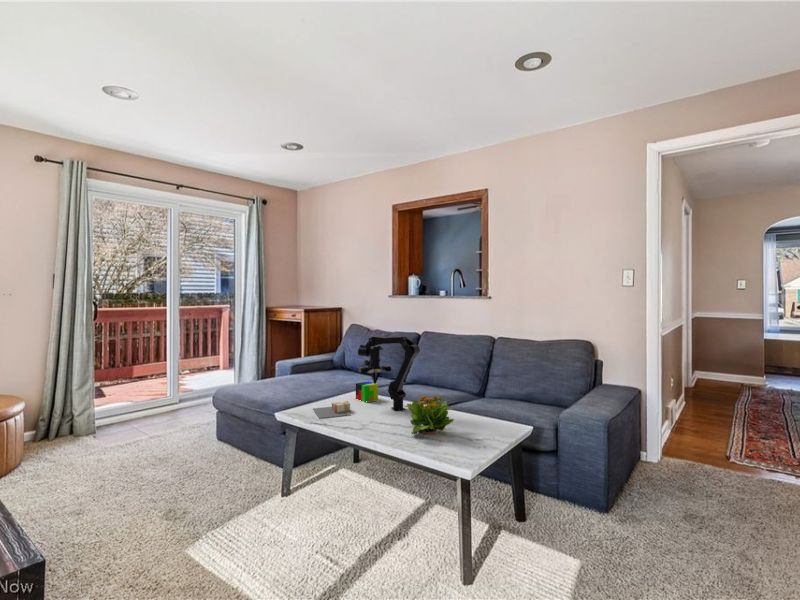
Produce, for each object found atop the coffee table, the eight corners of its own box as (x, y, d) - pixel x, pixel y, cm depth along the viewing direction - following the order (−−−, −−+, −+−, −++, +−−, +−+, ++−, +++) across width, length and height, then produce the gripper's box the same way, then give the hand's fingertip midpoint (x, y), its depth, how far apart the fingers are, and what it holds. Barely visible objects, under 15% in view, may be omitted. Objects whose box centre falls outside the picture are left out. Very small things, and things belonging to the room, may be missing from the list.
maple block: (350, 403, 234) (334, 405, 231) (350, 410, 234) (334, 412, 231) (347, 400, 240) (331, 402, 236) (347, 407, 240) (331, 409, 236)
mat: (350, 415, 227) (350, 414, 227) (319, 418, 221) (319, 417, 221) (341, 406, 246) (341, 405, 246) (312, 409, 239) (312, 408, 239)
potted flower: (394, 426, 208) (394, 391, 207) (436, 420, 217) (436, 387, 217) (417, 442, 185) (417, 403, 185) (462, 435, 195) (462, 397, 194)
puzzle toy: (368, 396, 269) (368, 381, 269) (378, 399, 261) (378, 383, 261) (355, 399, 263) (355, 383, 262) (364, 402, 255) (364, 386, 255)
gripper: (385, 354, 258) (385, 380, 258) (355, 356, 251) (355, 382, 251) (391, 357, 247) (391, 383, 247) (361, 358, 240) (361, 386, 241)
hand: (374, 383), depth 247 cm, fingers closed
